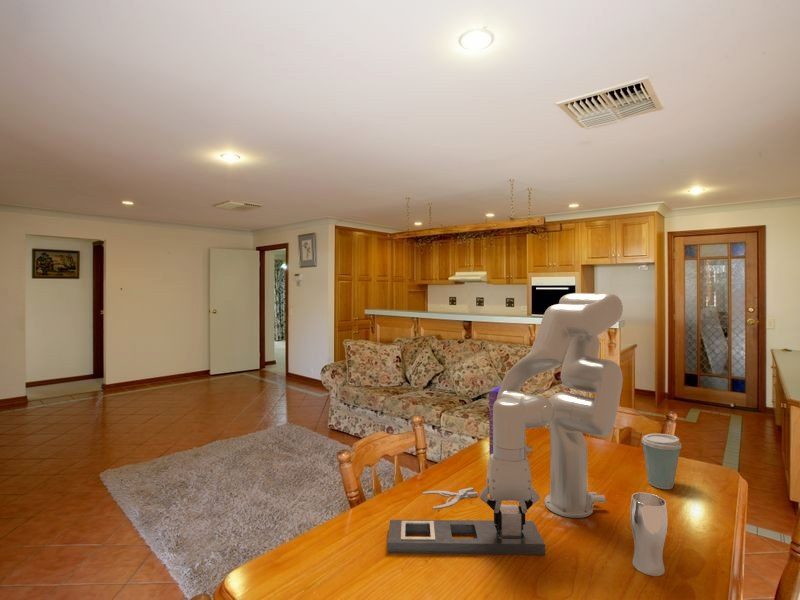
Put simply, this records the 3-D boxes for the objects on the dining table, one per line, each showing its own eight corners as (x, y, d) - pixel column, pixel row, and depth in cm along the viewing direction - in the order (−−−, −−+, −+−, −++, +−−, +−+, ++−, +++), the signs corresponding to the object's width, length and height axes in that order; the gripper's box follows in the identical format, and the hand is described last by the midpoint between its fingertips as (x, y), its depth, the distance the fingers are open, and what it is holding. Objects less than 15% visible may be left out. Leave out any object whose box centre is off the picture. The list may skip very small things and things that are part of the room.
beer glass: (623, 558, 98) (623, 492, 97) (652, 556, 98) (653, 491, 98) (643, 579, 91) (643, 508, 90) (674, 576, 91) (675, 506, 91)
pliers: (422, 489, 130) (468, 482, 134) (422, 494, 130) (468, 488, 134) (433, 505, 120) (482, 497, 124) (433, 510, 120) (482, 503, 124)
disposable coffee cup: (643, 489, 131) (643, 440, 130) (638, 475, 141) (639, 429, 140) (685, 495, 127) (685, 444, 126) (677, 480, 137) (677, 432, 136)
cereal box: (502, 459, 155) (502, 392, 154) (489, 456, 158) (489, 390, 157) (517, 444, 170) (517, 382, 169) (505, 441, 172) (505, 381, 171)
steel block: (516, 536, 107) (516, 504, 106) (521, 547, 102) (521, 514, 102) (498, 536, 107) (498, 504, 107) (501, 547, 102) (501, 514, 102)
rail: (533, 530, 109) (533, 519, 109) (545, 554, 99) (545, 542, 99) (390, 529, 110) (389, 518, 110) (387, 553, 100) (387, 541, 100)
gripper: (540, 445, 107) (540, 518, 108) (471, 445, 108) (472, 518, 108) (549, 457, 100) (549, 536, 100) (475, 457, 100) (476, 535, 101)
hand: (509, 526), depth 104 cm, fingers closed on steel block, 4 cm apart
